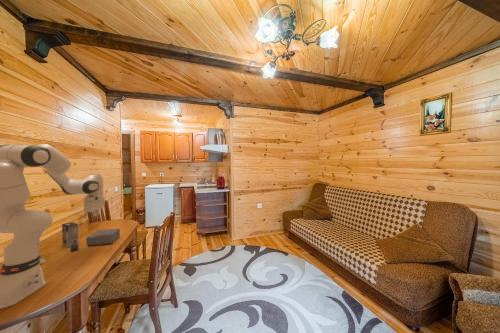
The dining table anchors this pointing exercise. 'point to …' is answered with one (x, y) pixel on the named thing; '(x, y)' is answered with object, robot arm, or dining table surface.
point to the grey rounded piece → (73, 247)
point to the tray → (98, 240)
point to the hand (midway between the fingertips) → (95, 215)
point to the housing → (106, 234)
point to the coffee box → (69, 234)
